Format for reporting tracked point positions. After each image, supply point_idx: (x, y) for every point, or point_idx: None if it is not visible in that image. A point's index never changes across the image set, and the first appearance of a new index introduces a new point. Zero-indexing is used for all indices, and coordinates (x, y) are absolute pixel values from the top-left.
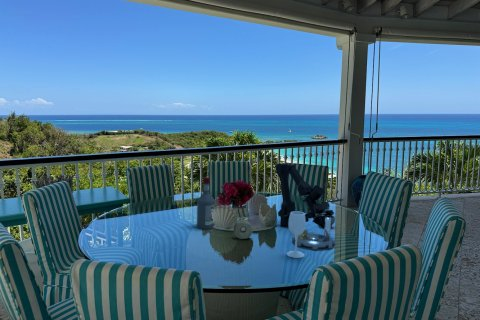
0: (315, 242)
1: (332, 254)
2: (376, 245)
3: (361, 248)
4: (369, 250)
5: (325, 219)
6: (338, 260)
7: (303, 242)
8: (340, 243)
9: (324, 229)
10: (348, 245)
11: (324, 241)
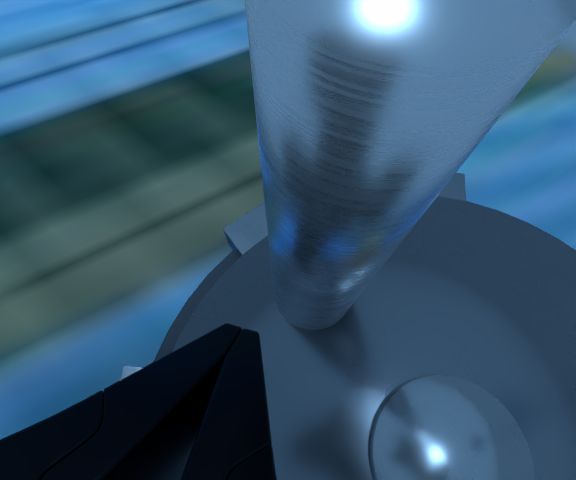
0: (535, 335)
1: (505, 126)
2: (5, 15)
3: (168, 52)
4: (172, 6)
5: (529, 70)
6: (563, 48)
7: None
8: (161, 219)
9: (370, 279)
10: (167, 144)
11: (393, 277)
